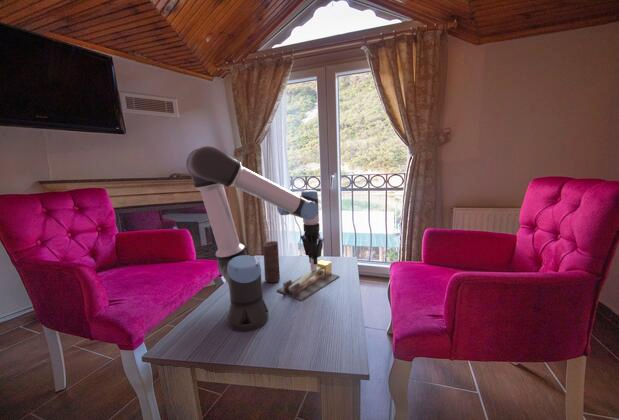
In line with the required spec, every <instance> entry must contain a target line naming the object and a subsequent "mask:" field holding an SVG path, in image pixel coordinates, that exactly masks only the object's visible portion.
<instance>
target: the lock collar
mask: <svg viewBox="0 0 619 420" xmlns="http://www.w3.org/2000/svg"><path fill="white" fill-rule="evenodd" d="M317 266H318V267H321V270H320V271H318V272H317V273H316V274H320V273H322V272H324V277H327V276H329V275H331V274H333V271H332V270H333V269H332V267H333V266H332V262H331V261H328V260H323V259H321V260H317Z"/></svg>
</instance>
